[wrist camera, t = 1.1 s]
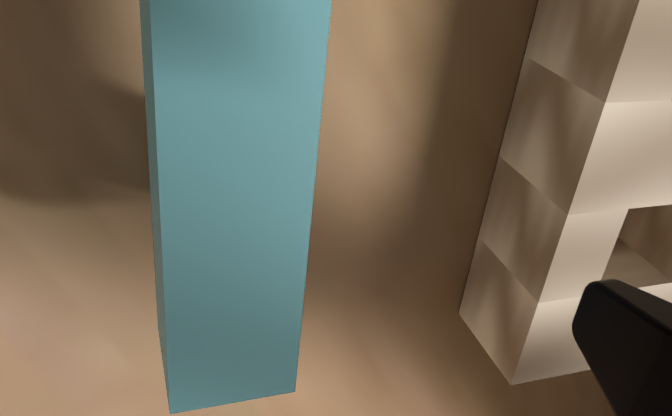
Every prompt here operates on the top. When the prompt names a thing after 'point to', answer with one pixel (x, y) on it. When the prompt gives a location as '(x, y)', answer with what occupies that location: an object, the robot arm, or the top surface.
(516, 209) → the beige patterned block
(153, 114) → the clip
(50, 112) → the top surface
